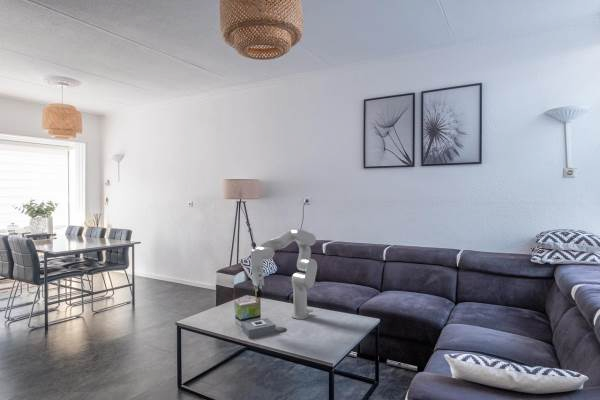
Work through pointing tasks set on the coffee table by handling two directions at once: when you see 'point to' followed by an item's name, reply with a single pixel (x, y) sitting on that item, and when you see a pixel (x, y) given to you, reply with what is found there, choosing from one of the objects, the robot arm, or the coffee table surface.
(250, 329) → the grey socket block
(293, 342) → the coffee table surface
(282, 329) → the coaster
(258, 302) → the stylus
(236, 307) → the tea box
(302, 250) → the robot arm
